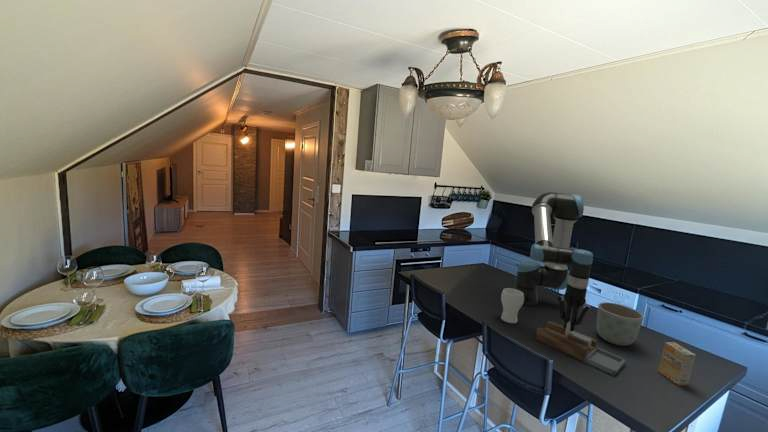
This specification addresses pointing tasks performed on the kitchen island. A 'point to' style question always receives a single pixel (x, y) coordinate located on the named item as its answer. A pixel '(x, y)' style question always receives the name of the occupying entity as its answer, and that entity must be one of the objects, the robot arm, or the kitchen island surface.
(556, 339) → the slot board
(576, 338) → the chip rear
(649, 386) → the kitchen island surface
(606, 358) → the tray
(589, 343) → the chip front
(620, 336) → the planter
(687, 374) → the supplement box
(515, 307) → the cup
